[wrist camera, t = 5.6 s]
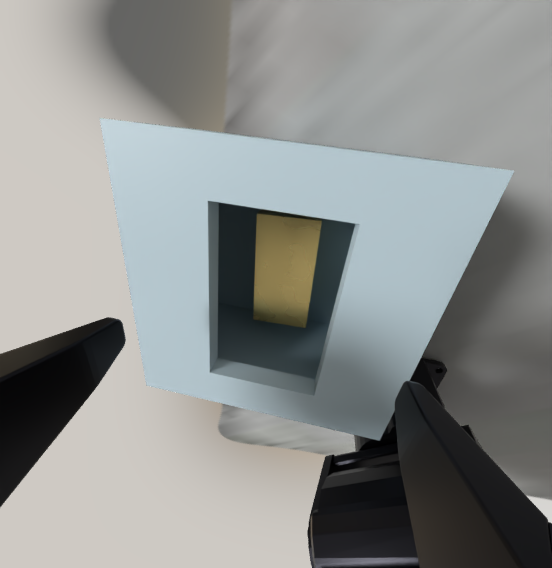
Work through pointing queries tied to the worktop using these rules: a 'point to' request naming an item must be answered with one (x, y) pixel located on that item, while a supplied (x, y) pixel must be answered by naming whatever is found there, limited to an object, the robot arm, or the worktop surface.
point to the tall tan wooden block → (284, 266)
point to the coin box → (327, 275)
